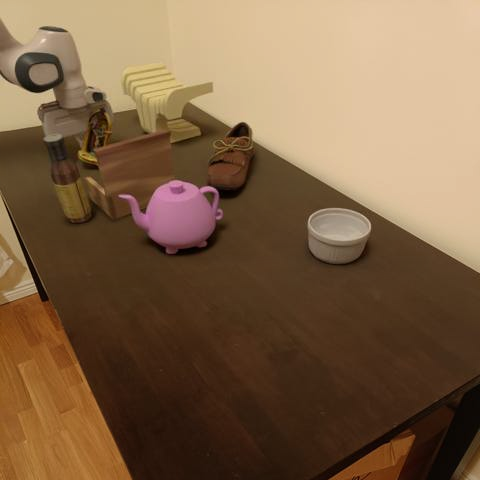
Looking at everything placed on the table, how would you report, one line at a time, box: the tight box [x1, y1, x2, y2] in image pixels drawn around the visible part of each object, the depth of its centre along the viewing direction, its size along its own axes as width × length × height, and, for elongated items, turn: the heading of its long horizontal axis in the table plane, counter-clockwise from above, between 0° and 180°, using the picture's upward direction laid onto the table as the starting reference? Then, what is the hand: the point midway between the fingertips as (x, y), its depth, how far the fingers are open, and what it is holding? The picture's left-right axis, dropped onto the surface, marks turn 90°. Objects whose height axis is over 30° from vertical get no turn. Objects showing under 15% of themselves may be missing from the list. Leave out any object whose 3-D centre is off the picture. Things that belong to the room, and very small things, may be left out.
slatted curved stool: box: [120, 61, 214, 144], centre depth 138 cm, size 30×16×18 cm, turn 37°
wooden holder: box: [84, 129, 176, 221], centre depth 106 cm, size 14×19×17 cm
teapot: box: [118, 179, 224, 255], centre depth 93 cm, size 22×16×14 cm
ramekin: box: [306, 207, 372, 265], centre depth 92 cm, size 13×13×7 cm
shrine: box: [76, 107, 113, 167], centre depth 122 cm, size 12×8×15 cm
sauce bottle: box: [43, 134, 93, 224], centre depth 98 cm, size 6×6×20 cm
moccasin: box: [205, 121, 254, 191], centre depth 117 cm, size 31×12×12 cm, turn 158°
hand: (86, 147), depth 127 cm, fingers closed, pressing on shrine
